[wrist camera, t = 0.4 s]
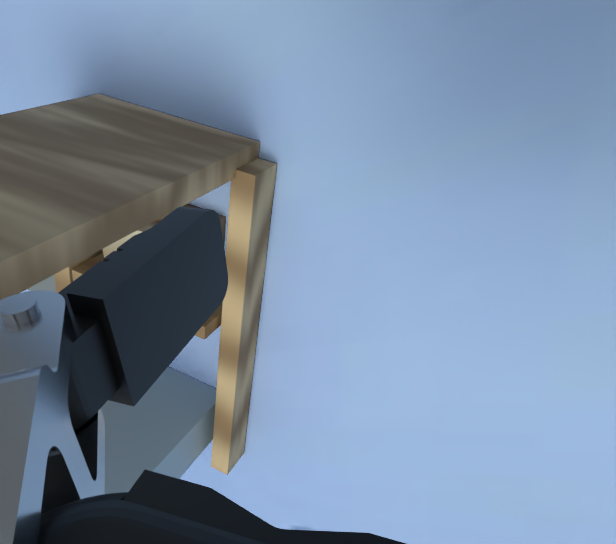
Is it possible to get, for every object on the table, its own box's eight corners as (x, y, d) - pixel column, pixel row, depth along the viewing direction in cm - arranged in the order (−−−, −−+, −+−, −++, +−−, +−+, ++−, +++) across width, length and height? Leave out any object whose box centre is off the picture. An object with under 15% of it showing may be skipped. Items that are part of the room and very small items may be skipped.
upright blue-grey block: (123, 345, 46) (-97, 511, 31) (224, 392, 43) (33, 601, 28) (124, 380, 48) (-81, 552, 33) (221, 428, 45) (42, 639, 30)
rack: (83, 89, 36) (-267, 159, 21) (278, 147, 31) (6, 286, 17) (105, 383, 49) (-100, 549, 35) (243, 452, 45) (75, 675, 30)
